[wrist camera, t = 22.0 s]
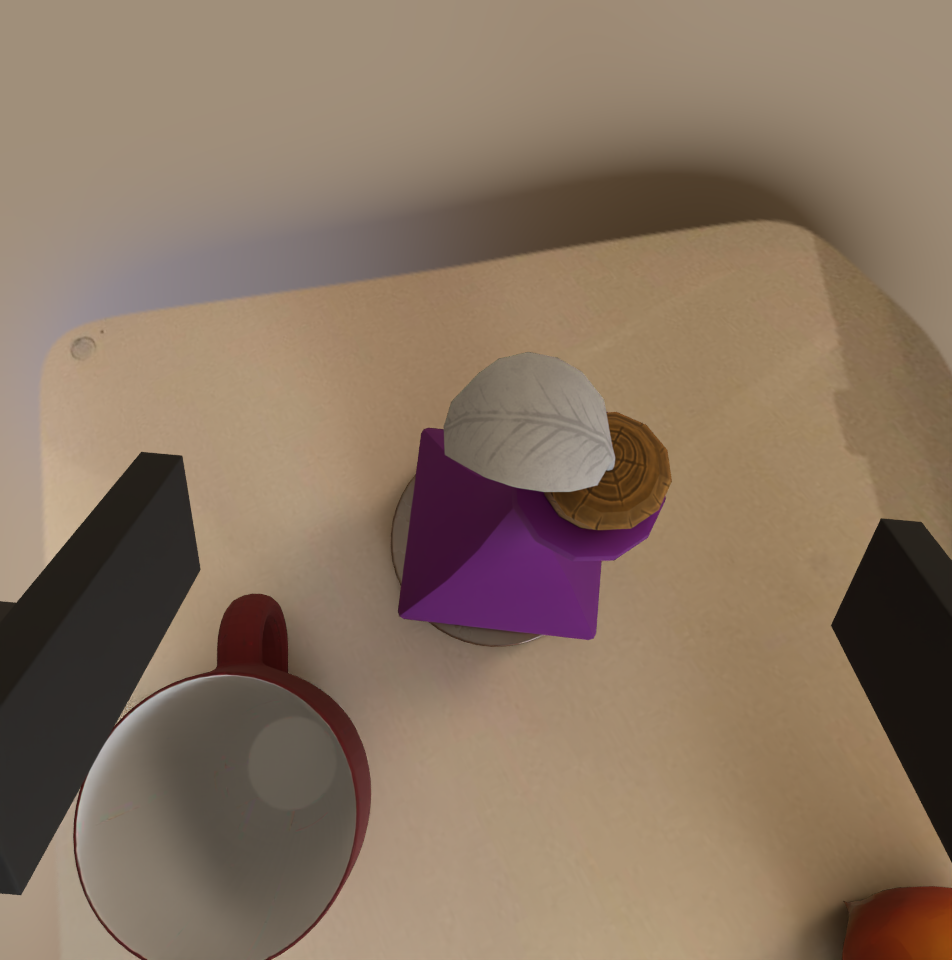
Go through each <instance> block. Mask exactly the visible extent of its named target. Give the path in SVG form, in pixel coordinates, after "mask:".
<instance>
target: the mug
mask: <svg viewBox="0 0 952 960" xmlns="http://www.w3.org/2000/svg"><path fill="white" fill-rule="evenodd" d="M370 804H371V780H370V772H369V766H368V761H367V757H366V753H365V750H364V747H363V744H362V742H361V739H360V737H359V735H358V732H357V730H356V728H355V726H354V725H353V723H352V721H351V720H350V718H349V717H348V715H347V714H346V713H345V712H344V711H343V709H342V708H341V707H340V706H339V705H338V704H337V703H336V702H335V701H334V700H333V699H332V698H331V697H330V696H328V695H327V694H326V693H325V692H323V691H322V690H321V689H319V688H318V687H316V686H314V685H313V684H311V683H309V682H307V681H305V680H303V679H301V678H299V677H297V676H294V675H292V674H289V673H288V637H287V629H286V624H285V619H284V616H283V612H282V610H281V607H280V606H279V604H278V603H277V602H276V601H275V600H274V599H273V598H272V597H270V596H267V595H263V594H248V595H244V596H242V597H239V598H238V599H236V600H234V601H233V602H232V603H231V604H230V605H229V607H228V608H227V610H226V611H225V613H224V615H223V618H222V621H221V625H220V629H219V635H218V646H217V667H216V669H215V670H213V671H211V672H208V673H203V674H199V675H195V676H192V677H188V678H185V679H182V680H180V681H177V682H174V683H172V684H170V685H168V686H166V687H164V688H162V689H160V690H158V691H156V692H155V693H153V694H152V695H150V696H148V697H147V698H145V699H144V700H143V701H141V702H140V703H139V704H137V705H136V706H135V707H134V708H132V709H131V710H130V711H129V712H128V713H127V714H126V715H125V716H124V717H123V718H122V719H121V720H120V721H119V722H118V723H117V724H116V725H115V726H114V727H113V729H112V731H111V733H110V735H109V736H108V738H107V740H106V742H105V744H104V746H103V747H102V749H101V751H100V753H99V755H98V756H97V758H96V760H95V762H94V764H93V766H92V767H91V769H90V771H89V773H88V775H87V776H86V778H85V780H84V782H83V784H82V785H81V789H80V792H79V796H78V800H77V805H76V811H75V818H74V834H73V839H74V854H75V861H76V867H77V871H78V875H79V879H80V883H81V885H82V888H83V891H84V894H85V896H86V898H87V900H88V902H89V904H90V906H91V908H92V910H93V912H94V913H95V915H96V917H97V918H98V920H99V921H100V923H101V924H102V925H103V926H104V928H105V929H106V930H107V932H108V933H109V934H110V935H111V936H112V937H113V938H114V939H115V940H116V941H117V942H118V943H119V944H121V945H122V946H123V947H124V948H125V949H127V950H128V951H129V952H131V953H132V954H134V955H135V956H137V957H138V958H140V959H141V960H271V959H273V958H275V957H277V956H279V955H281V954H282V953H283V952H285V951H286V950H288V949H289V948H291V947H292V946H294V945H295V944H296V943H297V942H298V941H300V940H301V939H302V938H303V937H304V936H305V935H306V934H307V933H309V932H310V931H311V930H312V929H313V928H314V927H315V926H316V925H317V923H318V922H319V921H320V920H321V919H322V917H323V916H324V915H325V914H326V912H327V911H328V910H329V908H330V907H331V905H332V904H333V902H334V901H335V899H336V898H337V896H338V894H339V892H340V891H341V889H342V887H343V885H344V884H345V882H346V880H347V878H348V876H349V875H350V872H351V870H352V868H353V866H354V864H355V862H356V860H357V857H358V855H359V853H360V850H361V847H362V844H363V841H364V837H365V833H366V829H367V825H368V820H369V814H370Z"/></svg>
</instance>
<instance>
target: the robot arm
mask: <svg viewBox="0 0 952 960" xmlns="http://www.w3.org/2000/svg"><path fill="white" fill-rule="evenodd" d="M200 570H201V569H200V563H199V557H198V551H197V544H196V538H195V532H194V526H193V519H192V513H191V507H190V501H189V495H188V488H187V482H186V476H185V470H184V463H183V457H182V456H180V455H169V454H158V453H147V452H141V453H140V454H139V455H138V456H137V458H136V459H135V460H134V461H133V463H132V464H131V465H130V466H129V467H128V469H127V470H126V471H125V472H124V473H123V475H122V476H121V477H120V478H119V479H118V481H117V482H116V483H115V484H114V485H113V487H112V488H111V489H110V490H109V492H108V493H107V494H106V495H105V496H104V498H103V499H102V500H101V501H100V502H99V504H98V505H97V506H96V507H95V508H94V510H93V511H92V512H91V513H90V514H89V516H88V517H87V518H86V519H85V521H84V522H83V523H82V524H81V525H80V527H79V528H78V529H77V530H76V531H75V533H74V534H73V535H72V536H71V537H70V539H69V540H68V541H67V542H66V543H65V545H64V546H63V547H62V548H61V550H60V551H59V552H58V553H57V554H56V556H55V557H54V558H53V559H52V560H51V562H50V563H49V564H48V565H47V566H46V568H45V569H44V570H43V571H42V572H41V574H40V575H39V576H38V577H37V579H36V580H35V581H34V582H33V583H32V585H31V586H30V587H29V588H28V589H27V591H26V592H25V593H24V594H23V595H22V597H21V598H20V599H19V600H18V602H17V603H13V602H1V601H0V893H2V894H14V895H21V894H22V892H23V891H24V889H25V887H26V885H27V883H28V882H29V880H30V878H31V876H32V874H33V872H34V871H35V869H36V867H37V865H38V863H39V862H40V860H41V858H42V856H43V854H44V853H45V851H46V849H47V847H48V845H49V843H50V841H51V840H52V838H53V836H54V834H55V833H56V831H57V829H58V827H59V825H60V824H61V822H62V820H63V818H64V816H65V814H66V813H67V811H68V809H69V807H70V805H71V804H72V802H73V800H74V798H75V796H76V795H77V793H78V791H79V789H80V787H81V785H82V784H83V782H84V780H85V778H86V776H87V775H88V773H89V771H90V769H91V767H92V766H93V764H94V762H95V760H96V758H97V756H98V755H99V753H100V751H101V749H102V747H103V746H104V744H105V742H106V740H107V738H108V736H109V735H110V733H111V731H112V729H113V727H114V726H115V724H116V722H117V720H118V718H119V717H120V715H121V713H122V711H123V709H124V707H125V706H126V704H127V702H128V700H129V698H130V697H131V695H132V693H133V691H134V689H135V688H136V686H137V684H138V682H139V680H140V678H141V677H142V675H143V673H144V671H145V669H146V668H147V666H148V664H149V662H150V660H151V659H152V657H153V655H154V653H155V651H156V649H157V648H158V646H159V644H160V642H161V640H162V639H163V637H164V635H165V633H166V631H167V630H168V628H169V626H170V624H171V622H172V620H173V619H174V617H175V615H176V613H177V611H178V610H179V608H180V606H181V604H182V602H183V600H184V599H185V597H186V595H187V593H188V591H189V590H190V588H191V586H192V584H193V582H194V581H195V579H196V577H197V575H198V573H199V571H200ZM831 626H832V628H833V630H834V632H835V634H836V636H837V638H838V640H839V642H840V644H841V646H842V648H843V650H844V652H845V654H846V656H847V658H848V660H849V662H850V664H851V666H852V668H853V670H854V672H855V674H856V676H857V677H858V679H859V681H860V683H861V685H862V687H863V689H864V691H865V693H866V695H867V697H868V699H869V701H870V703H871V705H872V707H873V709H874V711H875V713H876V715H877V717H878V719H879V721H880V723H881V725H882V727H883V728H884V730H885V732H886V734H887V736H888V738H889V740H890V742H891V744H892V746H893V748H894V750H895V752H896V754H897V756H898V758H899V760H900V762H901V764H902V766H903V768H904V770H905V772H906V774H907V776H908V778H909V779H910V781H911V783H912V785H913V787H914V789H915V791H916V793H917V795H918V797H919V799H920V801H921V803H922V805H923V807H924V809H925V811H926V813H927V815H928V817H929V819H930V821H931V823H932V825H933V827H934V829H935V831H936V832H937V834H938V836H939V838H940V840H941V842H942V844H943V846H944V848H945V850H946V852H947V854H948V856H949V858H950V860H951V862H952V560H951V559H950V558H949V557H948V555H947V554H946V553H945V551H944V550H943V549H942V548H941V546H940V545H939V544H938V543H937V541H936V540H935V539H934V537H933V536H932V535H931V534H930V532H929V531H928V530H927V529H926V527H925V526H924V525H923V523H922V522H915V521H904V520H893V519H880V522H879V524H878V526H877V528H876V530H875V532H874V534H873V537H872V539H871V541H870V543H869V545H868V547H867V549H866V552H865V554H864V556H863V558H862V560H861V562H860V564H859V567H858V569H857V571H856V573H855V575H854V577H853V579H852V582H851V584H850V586H849V588H848V590H847V592H846V594H845V597H844V599H843V601H842V603H841V605H840V607H839V609H838V612H837V614H836V616H835V618H834V620H833V622H832V624H831Z"/></svg>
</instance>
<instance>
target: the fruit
mask: <svg viewBox="0 0 952 960" xmlns="http://www.w3.org/2000/svg"><path fill="white" fill-rule="evenodd" d="M844 902H845V901H844ZM845 904H846V906H847V909H848V912H849V919H848V926H847V932H846V937H845V941H844V945H843V952H842V960H952V888H945V887H935V886H929V887H904V888H901V887H900V888H894V889H889V890H883V891H881V892H879V893H876V894H874V895H872V896H870V897H868V898H866V899H864V900H861V901H853V902H849V903H847V902H845Z"/></svg>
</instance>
